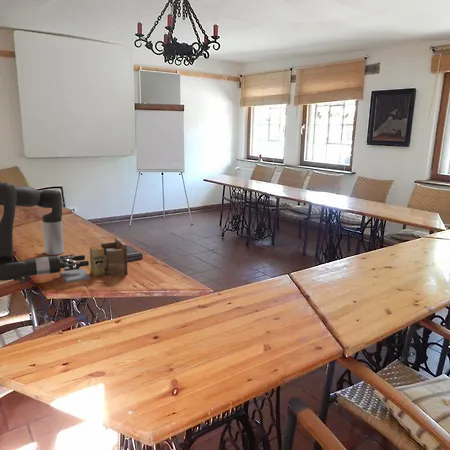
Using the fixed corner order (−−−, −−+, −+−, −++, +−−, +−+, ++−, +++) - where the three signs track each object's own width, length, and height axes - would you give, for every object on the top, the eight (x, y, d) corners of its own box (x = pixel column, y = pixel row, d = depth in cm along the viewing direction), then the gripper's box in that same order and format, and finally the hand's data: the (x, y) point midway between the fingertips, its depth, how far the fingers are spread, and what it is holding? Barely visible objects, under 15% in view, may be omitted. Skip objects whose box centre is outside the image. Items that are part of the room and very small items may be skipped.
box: (103, 254, 212) (117, 264, 197) (102, 248, 212) (116, 257, 196) (127, 250, 221) (143, 259, 205) (127, 244, 220) (142, 252, 205)
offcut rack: (101, 267, 191) (100, 239, 188) (118, 264, 195) (117, 237, 192) (109, 276, 179) (108, 247, 176) (127, 274, 183) (126, 245, 180)
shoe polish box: (105, 273, 183) (104, 248, 180) (94, 275, 180) (93, 250, 177) (101, 270, 187) (100, 246, 184) (90, 272, 184) (89, 247, 181)
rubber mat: (61, 273, 181) (60, 271, 181) (83, 270, 186) (83, 268, 186) (65, 282, 171) (65, 280, 171) (89, 279, 176) (89, 277, 176)
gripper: (49, 261, 164) (89, 256, 172) (44, 252, 176) (82, 247, 184) (50, 278, 166) (90, 273, 174) (46, 268, 178) (83, 263, 186)
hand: (86, 260), depth 179 cm, fingers open, 8 cm apart
